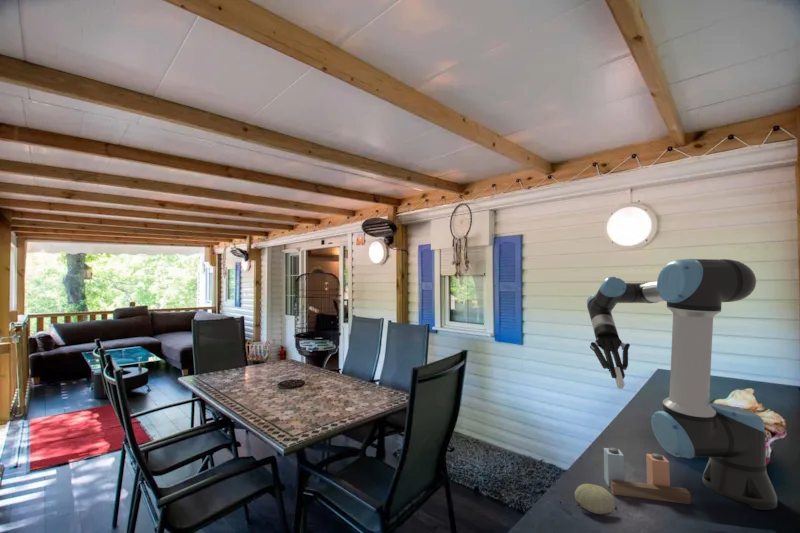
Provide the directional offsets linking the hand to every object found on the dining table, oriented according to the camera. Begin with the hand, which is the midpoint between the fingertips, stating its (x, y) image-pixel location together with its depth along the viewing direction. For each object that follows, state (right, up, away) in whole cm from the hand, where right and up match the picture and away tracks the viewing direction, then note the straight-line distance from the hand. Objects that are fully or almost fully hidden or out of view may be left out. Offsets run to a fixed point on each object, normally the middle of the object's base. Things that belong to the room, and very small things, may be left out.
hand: (621, 386), depth 121 cm
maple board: (-5, -23, -17) cm, 29 cm away
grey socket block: (-13, -22, -18) cm, 31 cm away
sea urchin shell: (-22, -23, -26) cm, 41 cm away
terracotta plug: (-3, -22, -21) cm, 30 cm away
